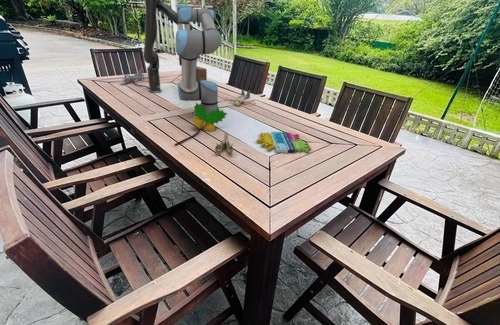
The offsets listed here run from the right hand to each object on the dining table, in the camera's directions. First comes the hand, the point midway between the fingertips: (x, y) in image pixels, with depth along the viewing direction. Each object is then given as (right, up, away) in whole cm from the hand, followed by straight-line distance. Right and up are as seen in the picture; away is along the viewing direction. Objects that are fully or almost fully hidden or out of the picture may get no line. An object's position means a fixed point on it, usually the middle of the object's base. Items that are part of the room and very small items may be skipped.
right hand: (186, 64), depth 186 cm
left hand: (-7, +10, +41) cm, 43 cm away
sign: (+64, -59, -34) cm, 93 cm away
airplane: (-70, +11, +74) cm, 102 cm away
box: (-2, 0, +41) cm, 41 cm away
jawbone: (+32, -64, -48) cm, 86 cm away
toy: (+38, -19, +35) cm, 55 cm away
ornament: (+20, -49, -22) cm, 57 cm away
